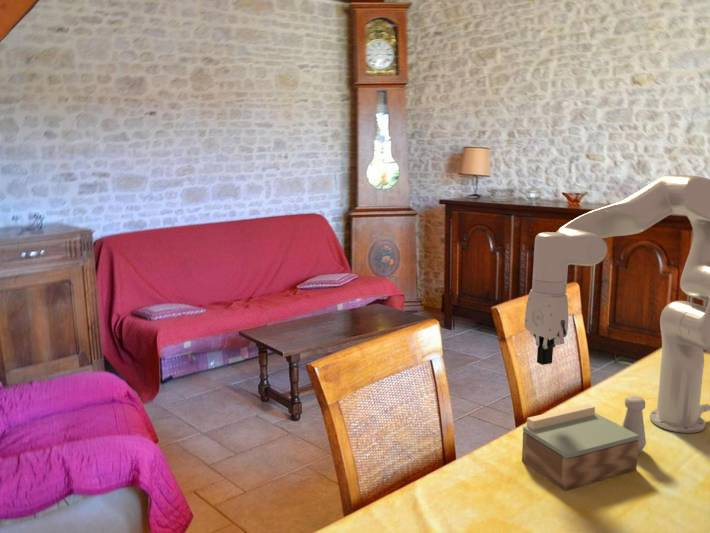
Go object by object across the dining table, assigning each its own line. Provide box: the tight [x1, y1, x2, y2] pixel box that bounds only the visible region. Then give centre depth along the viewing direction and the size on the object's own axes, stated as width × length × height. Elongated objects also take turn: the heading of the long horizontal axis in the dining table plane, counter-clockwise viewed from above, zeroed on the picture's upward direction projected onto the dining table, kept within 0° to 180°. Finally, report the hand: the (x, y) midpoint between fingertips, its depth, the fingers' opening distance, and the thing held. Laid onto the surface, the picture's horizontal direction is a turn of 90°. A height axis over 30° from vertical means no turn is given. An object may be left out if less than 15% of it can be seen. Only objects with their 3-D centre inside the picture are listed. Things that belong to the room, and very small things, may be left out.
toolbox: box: [521, 431, 639, 492], centre depth 142 cm, size 20×14×7 cm
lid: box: [522, 403, 639, 459], centre depth 141 cm, size 20×14×3 cm
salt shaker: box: [621, 395, 647, 455], centre depth 148 cm, size 6×6×13 cm
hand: (544, 363), depth 150 cm, fingers closed
